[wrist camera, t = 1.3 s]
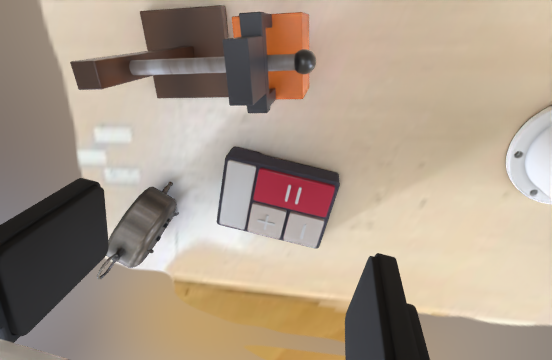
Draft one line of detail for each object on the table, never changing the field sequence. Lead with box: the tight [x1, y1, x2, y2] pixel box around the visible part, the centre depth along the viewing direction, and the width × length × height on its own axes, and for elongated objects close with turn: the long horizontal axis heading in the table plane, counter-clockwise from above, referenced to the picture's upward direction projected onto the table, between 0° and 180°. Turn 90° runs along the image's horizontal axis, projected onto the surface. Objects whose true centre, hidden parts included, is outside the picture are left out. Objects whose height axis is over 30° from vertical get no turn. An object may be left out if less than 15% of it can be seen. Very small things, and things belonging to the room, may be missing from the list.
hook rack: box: [70, 6, 316, 98], centre depth 31 cm, size 21×10×18 cm, turn 93°
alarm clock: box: [97, 182, 179, 279], centre depth 44 cm, size 11×5×16 cm, turn 148°
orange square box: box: [222, 12, 309, 113], centre depth 27 cm, size 6×7×15 cm
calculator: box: [217, 147, 340, 248], centre depth 44 cm, size 11×4×15 cm
